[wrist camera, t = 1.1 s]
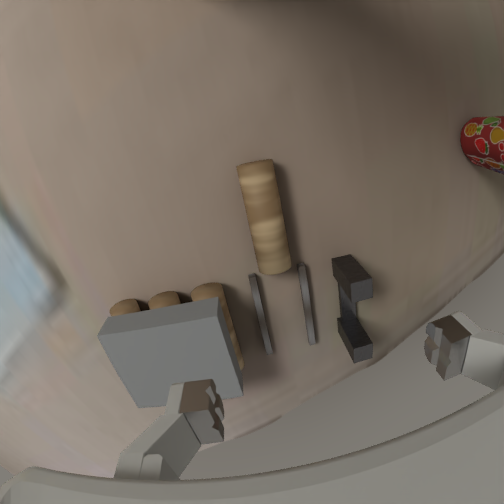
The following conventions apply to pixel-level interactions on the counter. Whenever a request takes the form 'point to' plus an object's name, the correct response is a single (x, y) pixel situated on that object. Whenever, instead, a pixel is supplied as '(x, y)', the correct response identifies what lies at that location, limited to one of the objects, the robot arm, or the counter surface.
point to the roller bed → (225, 307)
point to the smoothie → (484, 142)
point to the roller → (265, 216)
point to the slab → (172, 350)
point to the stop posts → (352, 305)
